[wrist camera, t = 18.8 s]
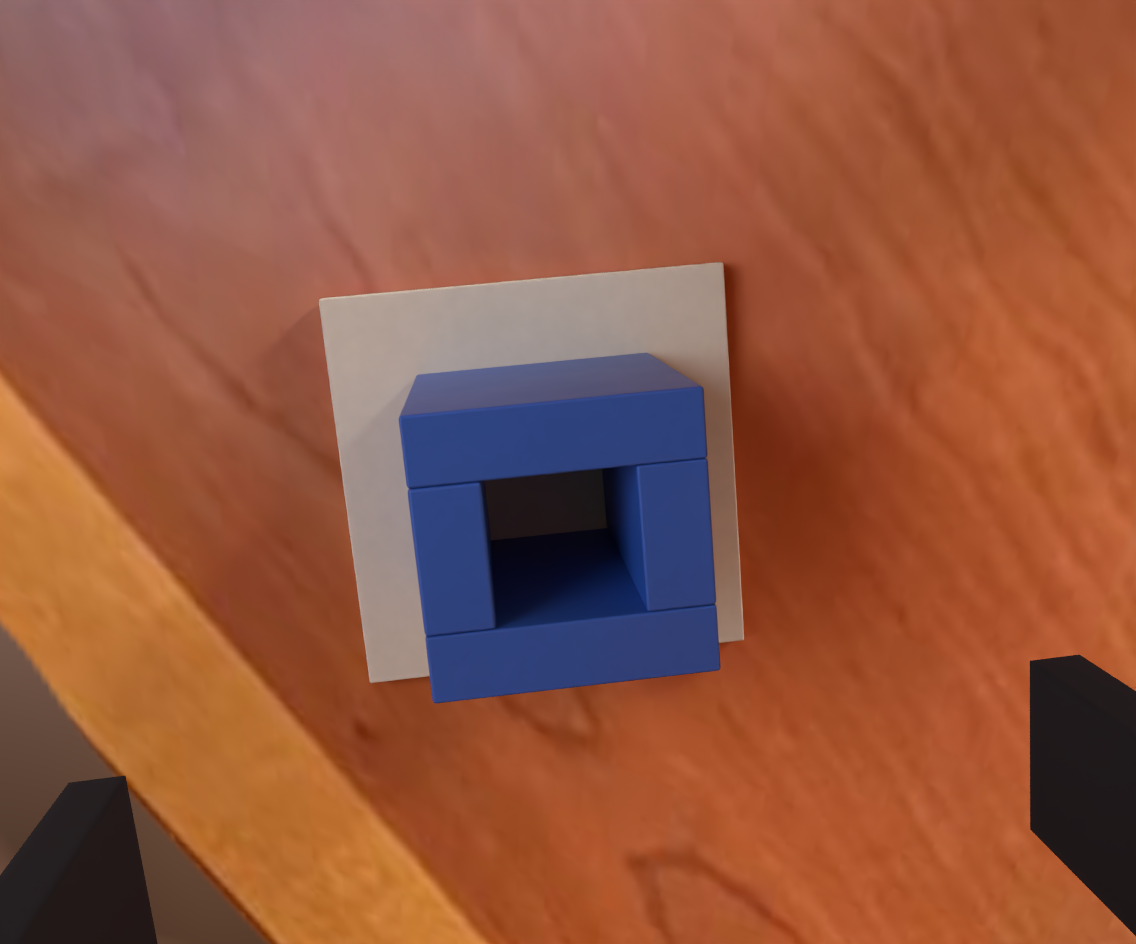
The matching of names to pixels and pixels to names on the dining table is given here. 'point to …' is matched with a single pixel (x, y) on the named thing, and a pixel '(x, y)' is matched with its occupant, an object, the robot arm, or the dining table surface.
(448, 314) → the felt mat
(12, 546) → the dining table surface
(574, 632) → the blue collar
